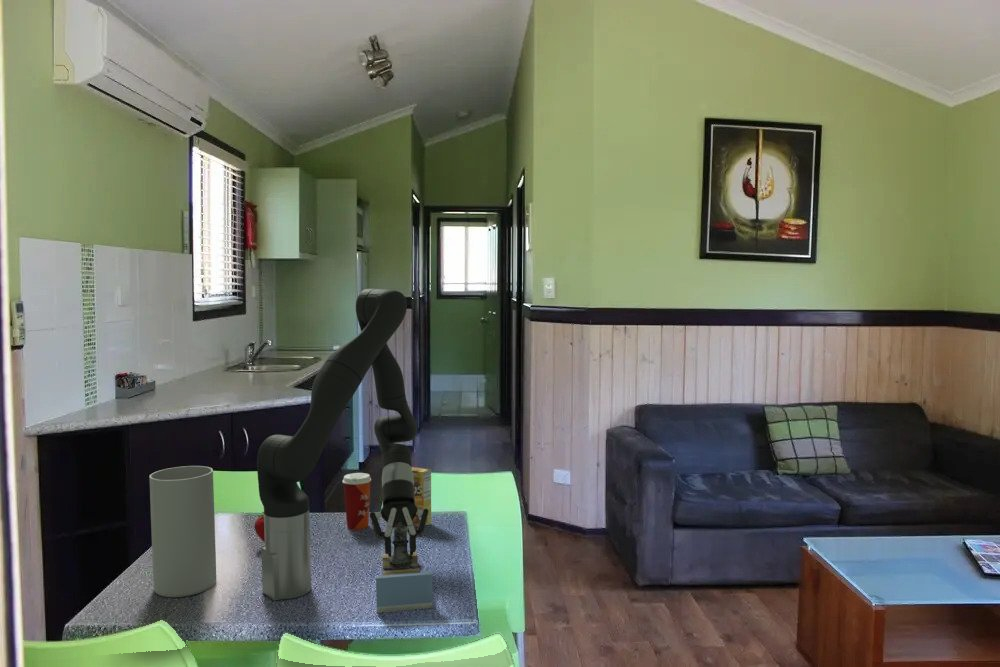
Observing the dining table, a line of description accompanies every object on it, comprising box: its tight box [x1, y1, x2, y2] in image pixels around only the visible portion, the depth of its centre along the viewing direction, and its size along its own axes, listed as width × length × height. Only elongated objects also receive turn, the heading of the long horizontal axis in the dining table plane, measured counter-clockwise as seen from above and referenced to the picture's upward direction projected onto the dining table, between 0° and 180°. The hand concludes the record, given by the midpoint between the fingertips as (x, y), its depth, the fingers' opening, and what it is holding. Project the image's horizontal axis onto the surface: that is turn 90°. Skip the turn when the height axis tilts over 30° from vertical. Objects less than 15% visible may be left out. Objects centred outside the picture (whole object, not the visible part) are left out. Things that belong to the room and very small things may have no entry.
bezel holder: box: [375, 571, 433, 614], centre depth 149 cm, size 10×11×7 cm
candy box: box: [412, 466, 432, 527], centre depth 198 cm, size 9×4×15 cm, turn 62°
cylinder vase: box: [149, 465, 217, 598], centre depth 157 cm, size 12×12×25 cm
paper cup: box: [341, 472, 372, 531], centre depth 196 cm, size 8×8×14 cm
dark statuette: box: [388, 522, 414, 570], centre depth 163 cm, size 6×6×12 cm
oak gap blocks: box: [381, 551, 422, 575], centre depth 163 cm, size 13×8×2 cm, turn 10°
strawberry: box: [254, 511, 265, 543], centre depth 182 cm, size 6×8×10 cm
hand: (400, 554), depth 161 cm, fingers open, 4 cm apart
